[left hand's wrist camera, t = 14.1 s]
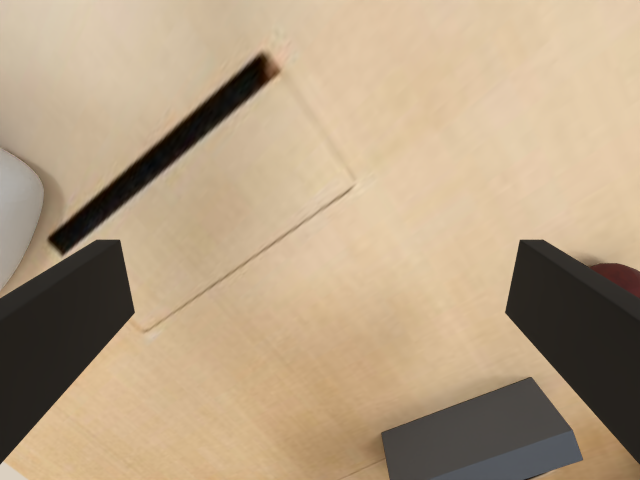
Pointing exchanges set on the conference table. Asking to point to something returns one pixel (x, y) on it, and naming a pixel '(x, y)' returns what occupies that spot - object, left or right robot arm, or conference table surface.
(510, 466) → the bar
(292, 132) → the conference table surface
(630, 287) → the dark red ball
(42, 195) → the projector
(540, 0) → the conference table surface
